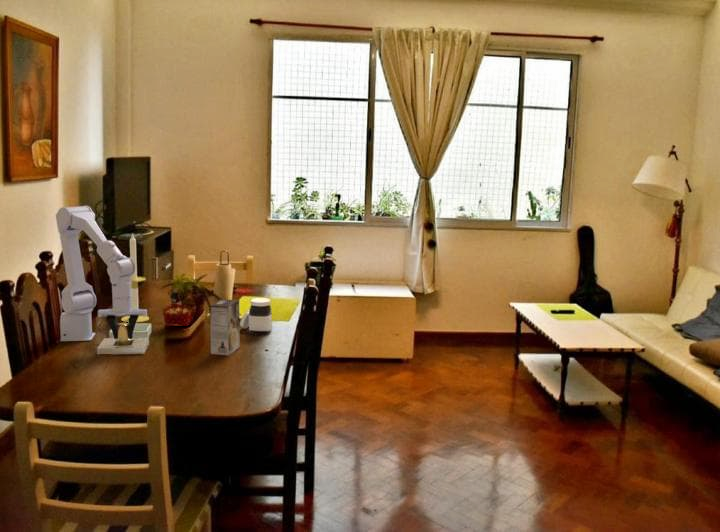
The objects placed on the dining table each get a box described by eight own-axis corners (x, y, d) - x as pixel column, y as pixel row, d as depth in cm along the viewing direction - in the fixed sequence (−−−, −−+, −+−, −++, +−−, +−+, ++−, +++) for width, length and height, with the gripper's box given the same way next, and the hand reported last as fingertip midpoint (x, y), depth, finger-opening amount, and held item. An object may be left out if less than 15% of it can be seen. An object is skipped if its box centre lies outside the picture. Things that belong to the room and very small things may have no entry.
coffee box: (221, 345, 221) (221, 298, 218) (240, 347, 220) (240, 299, 217) (210, 354, 212) (209, 304, 209) (229, 356, 211) (229, 306, 208)
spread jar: (268, 336, 233) (269, 304, 231) (236, 335, 233) (236, 302, 231) (274, 327, 245) (274, 296, 243) (243, 326, 245) (243, 294, 243)
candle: (119, 317, 251) (116, 231, 245) (147, 314, 255) (145, 230, 249) (122, 323, 242) (119, 235, 236) (151, 321, 247) (148, 234, 241)
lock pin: (116, 350, 212) (115, 326, 211) (118, 346, 216) (117, 322, 214) (129, 350, 213) (128, 326, 211) (131, 346, 217) (130, 322, 215)
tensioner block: (97, 354, 208) (96, 348, 207) (104, 344, 218) (104, 338, 218) (144, 353, 210) (143, 347, 210) (148, 343, 221) (148, 337, 220)
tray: (109, 341, 222) (109, 332, 221) (115, 332, 232) (114, 323, 231) (147, 340, 224) (147, 331, 223) (151, 331, 234) (151, 323, 233)
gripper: (95, 299, 206) (96, 342, 209) (144, 299, 209) (145, 341, 211) (99, 294, 213) (101, 335, 215) (147, 294, 215) (148, 335, 218)
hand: (123, 338), depth 214 cm, fingers closed on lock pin, 4 cm apart
